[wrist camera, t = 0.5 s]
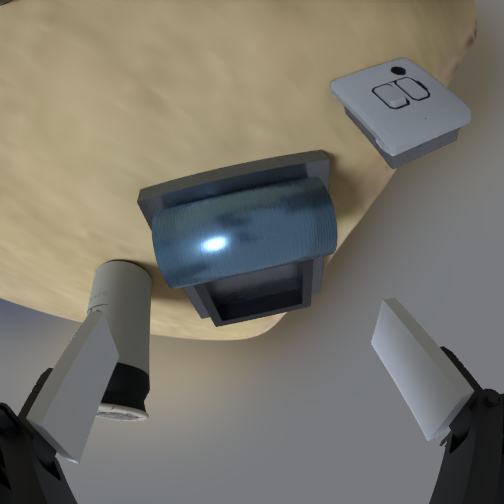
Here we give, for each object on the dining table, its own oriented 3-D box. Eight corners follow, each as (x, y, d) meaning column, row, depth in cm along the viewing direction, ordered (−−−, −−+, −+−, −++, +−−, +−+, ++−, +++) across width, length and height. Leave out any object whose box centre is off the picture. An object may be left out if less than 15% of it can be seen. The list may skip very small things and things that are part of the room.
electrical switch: (404, 55, 17) (475, 95, 12) (411, 97, 21) (472, 145, 16) (324, 82, 20) (384, 129, 14) (339, 126, 24) (391, 184, 18)
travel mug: (162, 287, 36) (165, 420, 24) (118, 300, 37) (111, 421, 25) (131, 251, 30) (117, 406, 18) (84, 269, 31) (62, 405, 19)
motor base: (140, 189, 25) (124, 258, 19) (321, 149, 25) (364, 205, 19) (200, 307, 41) (205, 362, 35) (316, 282, 41) (334, 333, 35)
